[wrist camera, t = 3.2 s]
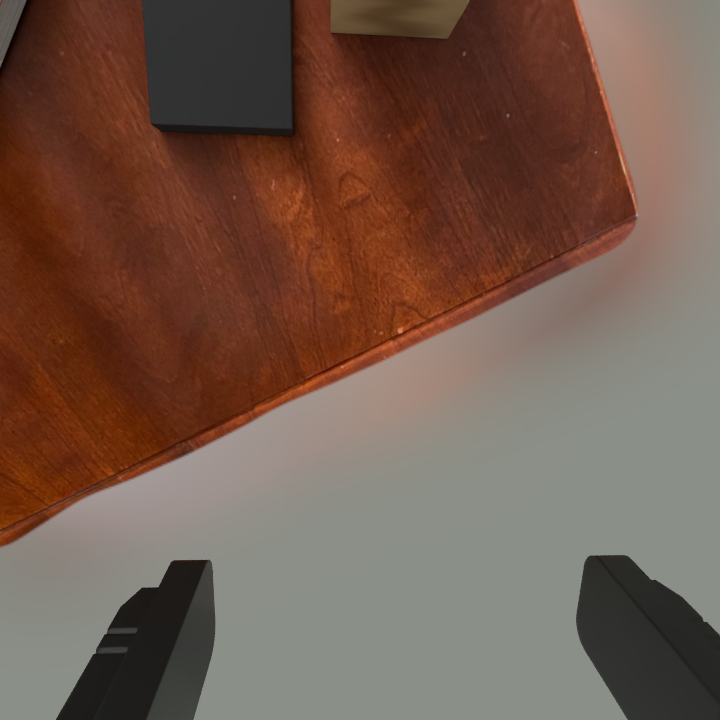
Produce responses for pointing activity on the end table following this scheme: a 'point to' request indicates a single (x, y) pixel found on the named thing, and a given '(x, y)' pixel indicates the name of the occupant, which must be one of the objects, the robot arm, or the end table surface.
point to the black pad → (220, 66)
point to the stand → (396, 17)
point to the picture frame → (8, 22)
